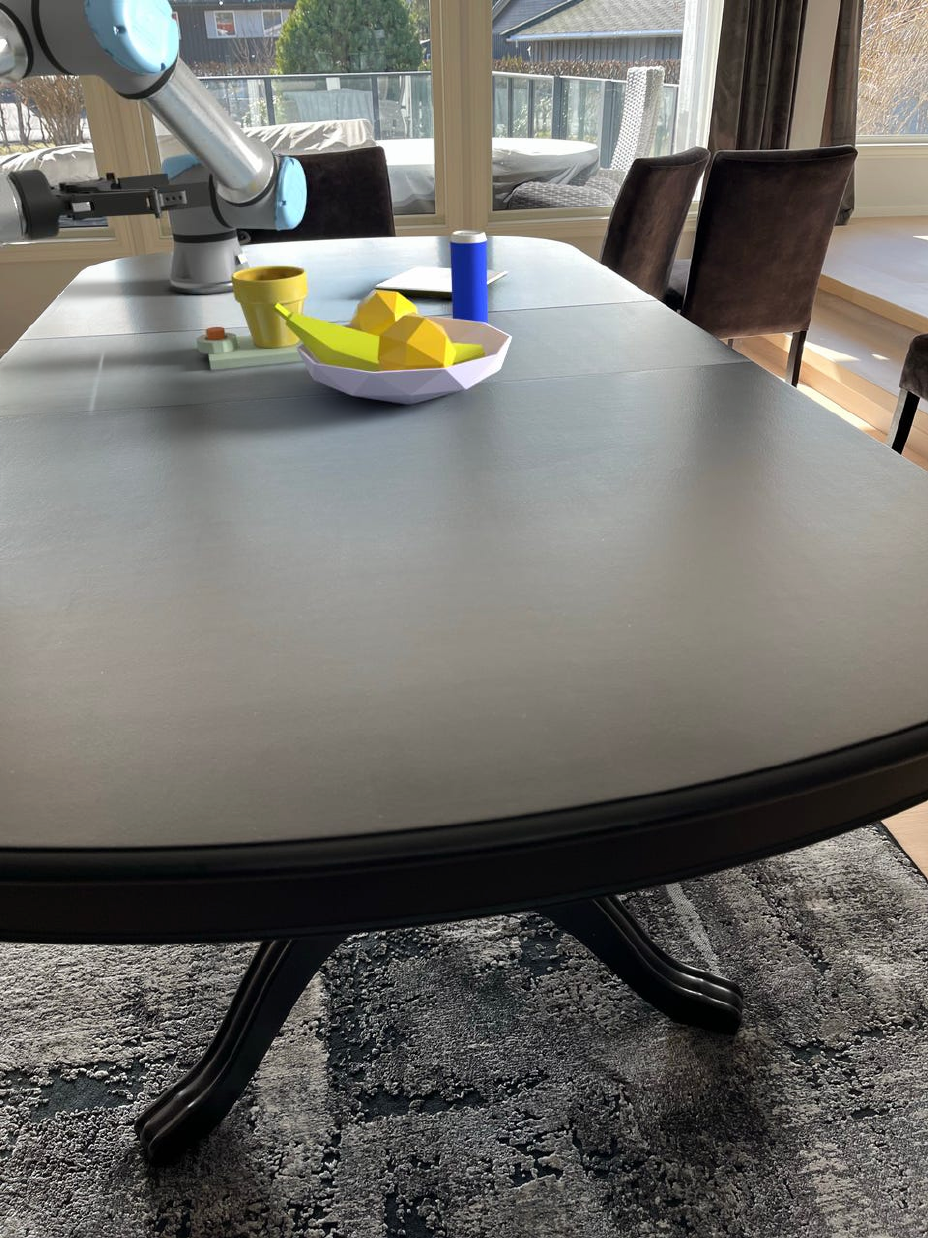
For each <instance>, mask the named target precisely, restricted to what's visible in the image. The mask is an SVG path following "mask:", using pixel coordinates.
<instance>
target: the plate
mask: <svg viewBox="0 0 928 1238" xmlns="http://www.w3.org/2000/svg"><path fill="white" fill-rule="evenodd" d="M508 273H509V271H506V270H497V269H487V287H488V286H490V285H492V284H493V283H495V282H497V281H498V280H500V279H502V278H504V277H505V276H507V275H508ZM373 288H374V290H384V291H393V292H398V293H399V294H401V295H402V296H403V297H417V298H418V297H419V298H435V299H436V298H437V299H451V300H452V280H451V267H432V266H416V267H414V268H411V269H409V270H408V271H405V272H403V273H401V274H398V275H396V276H394V277H392V278H390V279H387V280H385V281H382V282H381V283H379V284H376V285H375V286H373Z"/></svg>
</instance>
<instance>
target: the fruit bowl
mask: <svg viewBox="0 0 928 1238" xmlns="http://www.w3.org/2000/svg"><path fill="white" fill-rule="evenodd" d="M273 310H274V311H275V312H276V313H277V314H279V315H280V316H281V317H282V318H283V319H285V320H286V323H285V324H286V325H287V326H288V327H289V328H290V329H291V330H292V331H293V332H294V334H295V335H296V336H297V337H298V338H299V339H300V340H301V341H302V342H303V343H302V344H300V345H299V346H297V347H296V349H297V350H298V352H299V354H300V356H301V358H302V359H303V361H302V362H303V364H304V365H305V367H306V369H307V371H308V373H309V374H310V376H311V378H312V380H314V381H316V382H318V383H321V384H323V385H326V386H328V387H330V388H333V389H335V390H337V391H340V392H342V393H344V394H347V395H350V396H352V397H358V398H363V399H370V400H376V401H377V400H378V401H383V402H388V403H394V404H402V405H407V406H411V405H415V404H418V403H422V402H425V401H429V400H432V399H433V400H434V399H437V398H440V397H444V396H448V395H451V394H455V393H458V392H462V391H466V390H468V389H470V388H472V387H473V386H475V385H476V384H478V383H480V382H481V381H483V380H485V379H487V378H488V377H490V376H492V375H494V374H495V373H497V372H499V371H500V370H501V369H502V365H503V363H504V360H505V358H506V355H507V352H508V349H509V346H510V344H511V341H512V338H513V336H512V335H510V334H508V333H506V332H505V331H502V330H500V329H498V328H496V327H495V326H493V325H491V324H490V323H488V324H487V323H485V322H476V321H467V320H459V319H453V318H451V317H440V316H432V315H431V316H423V315H422V314H419V312H418V309H417V306H416V305H415V304H414V303H413V302H412V301H410V300H409V299H407V298H406V296H402V295H401V294H399V293H398V292H393V291H384V290H376V289H375V288H374V289H372V290H371V291H370V292H369V293H368V294H367V295H366V296H365V297H364V298H363V299H362V300H361V301H360V302H359V303H358V304H357V306H356V307H355V310H354V312H353V314H352V317H351V319H350V322H349V323H348V324H345V325H342V324H341V325H340V324H337V323H333V322H329V321H327V320H323V319H319V318H315V317H311V316H308V315H304V314H303V315H301V314H297V313H294V312H293V313H292V314H291V313H290V312H289V311H287V310H286V309H285V308H284V307H283V306H281V305H280V304H279V303H276V305H275V306H274V307H273Z"/></svg>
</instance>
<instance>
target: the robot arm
mask: <svg viewBox="0 0 928 1238" xmlns="http://www.w3.org/2000/svg"><path fill="white" fill-rule="evenodd" d="M172 15H173V8H172V6H171V4H170V3H169V0H0V83H4V84H14V83H17V82H19V81H21V80H24V79H27V78H32V77H49V76H72V77H77V76H96V77H99V78H100V79H101V80H103V81H104V82H105V83H106V84H107V85H108V86H109V87H110V88H111V89H112V90H113V91H114V92H115V94H117V95H118V96H120V97H121V98H123V99H125V100H127V101H129V102H140V103H141V104H142V105H143V106H144V107H145V108H146V109H147V110H148V111H149V113H151V114H152V116H153V117H155V119H156V120H157V121H159V123H160V124H161V125H163V126H164V128H165V129H166V130H167V131H168V132H169V133H170V134H171V135H172V136H173V137H174V138H175V139H176V140H177V141H178V142H179V143H180V144H181V146H183V147H184V148H185V149H186V150H187V151H188V152H189V153H184V154H179V155H173V156H169V157H166V158H165V159H163V161H162V162H161V173H154V174H144V175H135V176H122V177H117V178H116V174H115V172H105V177H106V178H105V177H99V178H96V179H90V180H83V181H62V182H58V184H57V185H51V183H50V182H49V180H48V178H47V176H46V175H45V173H44V172H43V171H42V170H40V169H35V168H34V169H24V170H13V171H10V172H9V173H8V174H7V175H6V174H4V173H3V172H2V171H0V250H3V249H4V247H5V245H4V242H6V243H7V244H9V243H15V242H21V241H22V239H23V237H24V238H25V239H27V240H28V241H37V240H44V239H54V238H56V237H57V236H58V235H59V234H60V228H61V227H60V225H61V224H60V221H59V220H60V217H61V216H65V217H66V219H71V220H72V221H84V220H86V219H95V218H97V219H98V218H104V217H122V216H123V217H125V216H141V215H154V217H155V219H158V220H159V219H163V217H164V216H163V212H166V211H167V212H168V217H169V222H170V223H169V224H170V229H171V233H172V238H173V239H172V240H173V254H172V263H171V270H170V278H169V280H170V285H171V290H172V291H173V292H176V293H181V294H187V295H189V294H190V295H207V294H208V295H209V294H211V295H212V294H220V293H229V292H233V286H232V279H231V277H232V274H234V273H235V272H237V271H240V270H244V269H248V268H251V267H250V265H249V262H248V259H247V257H246V255H245V252H243V250H242V247H241V246H244V245H247V244H248V243H250V242H251V236H250V235H249V233H248V232H246V231H244V230H241V231H239V232H237V229H250V230H251V229H252V230H261V229H262V230H276V231H277V232H279V231H282V230H293V229H295V228H296V227H297V226H298V225H299V224H300V223H301V222H302V220H303V218H304V215H305V211H306V205H307V181H306V180H307V179H306V175H305V172H304V168H303V167H302V164H301V163H300V161H299V160H298V159H296V158H295V157H290V156H288V155H286V156H284V157H282V156H281V157H279V156H278V155H276V154H275V153H274V151H272V149H271V148H270V147H269V145H267V144H266V143H265V142H264V141H263V140H261V139H259V138H256V137H249V136H248V135H247V133H245V132H244V131H243V130H242V128H241V127H240V126H239V125H238V123H237V122H236V120H234V119H233V118H232V117H231V115H230V114H229V113H228V111H226V109H225V108H224V107H223V106H222V105H221V104H220V103H219V101H218V100H217V99H216V98H215V96H213V94H212V93H211V92H210V91H209V90H208V89H207V87H206V86H205V85H204V84H203V83H202V81H201V80H200V79H199V78H198V77H197V75H196V74H195V73H194V72H193V71H192V70H191V68H189V66H188V65H187V64H186V63H185V62H184V60H183V59H182V58H181V57H180V37H179V36H180V35H179V28H178V22H177V20H176V19H175V18H173V17H172ZM147 199H148V200H147ZM243 238H245V239H243ZM239 239H240V240H239ZM241 239H242V240H241Z"/></svg>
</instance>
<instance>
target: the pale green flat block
mask: <svg viewBox="0 0 928 1238" xmlns="http://www.w3.org/2000/svg"><path fill="white" fill-rule="evenodd" d="M225 336H226V338H225V339H221V340H207V335H206V334H202V335H199V336H198V337H196V343H197V344H196V345H197V349H198V352H199V353H202V354H207V355H208V356H207V357H208V361H209V368H210V370H211V371H215V370H225V369H233V368H245V367H255V366H264V365H273V364H284V363H292V362H304V361H303V359H302V358H301V356H300V354H299V352H298V350H297V349H296V347H297V346H299V345H300V344H302V343H303V342H302V341H301V340H300V341H299V342H298V343H297V344H295V345H293V346H289V347H284V348H261V347H258V346H256V345H255V344H254V342H253V339H252V336H251V334H250V335H241V336H240V335H239V336H237V334H235V333H231V332H225Z"/></svg>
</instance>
